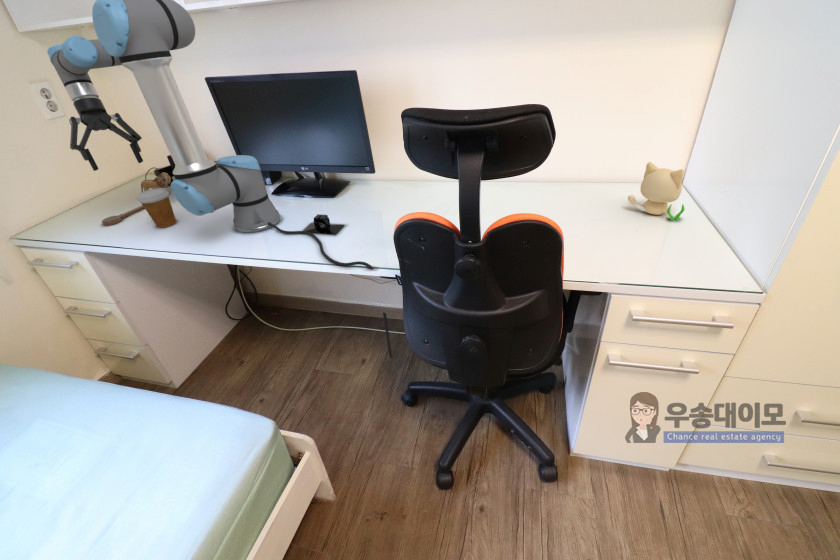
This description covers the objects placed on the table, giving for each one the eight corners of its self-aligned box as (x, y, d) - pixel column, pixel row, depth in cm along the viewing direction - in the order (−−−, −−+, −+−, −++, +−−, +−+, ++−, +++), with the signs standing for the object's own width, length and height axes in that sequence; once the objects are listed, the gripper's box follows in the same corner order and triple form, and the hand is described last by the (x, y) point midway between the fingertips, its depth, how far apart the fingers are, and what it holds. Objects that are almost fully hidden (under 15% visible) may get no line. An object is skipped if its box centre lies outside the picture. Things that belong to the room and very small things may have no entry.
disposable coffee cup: (146, 227, 140) (130, 196, 134) (170, 216, 147) (156, 186, 140) (162, 231, 136) (146, 199, 130) (186, 220, 143) (172, 189, 136)
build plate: (301, 233, 128) (297, 220, 125) (312, 223, 133) (308, 210, 131) (335, 235, 124) (332, 221, 122) (345, 225, 130) (342, 212, 128)
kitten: (689, 215, 118) (705, 166, 110) (670, 225, 114) (686, 175, 105) (641, 201, 129) (653, 155, 120) (623, 210, 124) (634, 163, 116)
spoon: (165, 201, 162) (164, 197, 161) (110, 226, 144) (108, 222, 143) (155, 200, 164) (153, 196, 163) (99, 224, 146) (97, 221, 145)
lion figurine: (178, 190, 173) (169, 170, 168) (175, 194, 168) (166, 173, 163) (142, 195, 170) (132, 175, 165) (137, 199, 166) (127, 179, 161)
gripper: (125, 101, 138) (154, 161, 144) (35, 107, 120) (72, 175, 126) (132, 94, 133) (161, 156, 139) (39, 99, 115) (78, 170, 121)
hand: (119, 166), depth 133 cm, fingers open, 13 cm apart
